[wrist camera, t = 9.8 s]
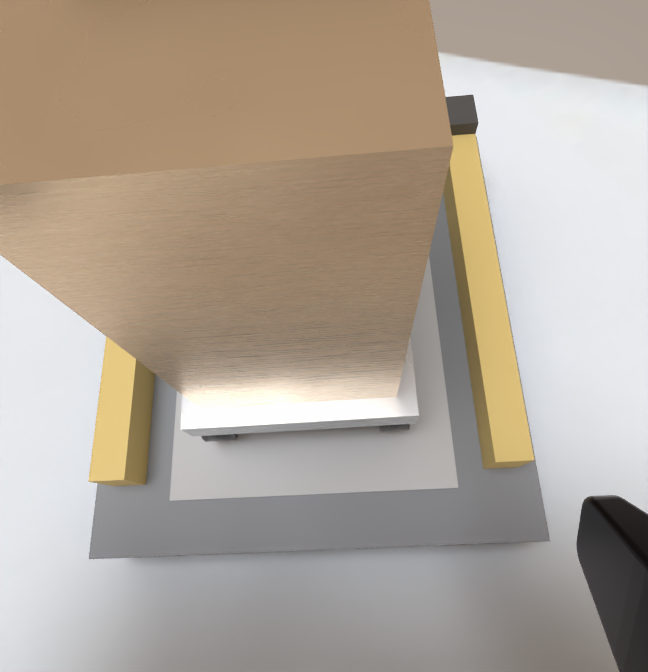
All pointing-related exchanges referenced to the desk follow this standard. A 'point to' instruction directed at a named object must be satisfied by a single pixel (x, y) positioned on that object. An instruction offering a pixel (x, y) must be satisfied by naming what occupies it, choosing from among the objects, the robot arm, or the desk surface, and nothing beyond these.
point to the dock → (343, 431)
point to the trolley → (232, 194)
